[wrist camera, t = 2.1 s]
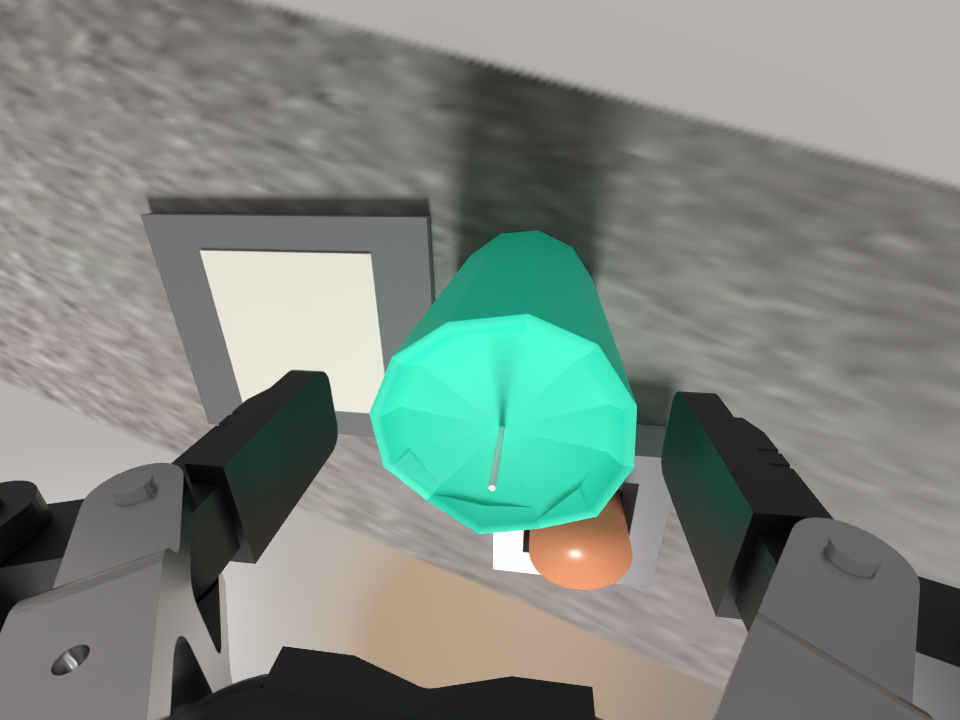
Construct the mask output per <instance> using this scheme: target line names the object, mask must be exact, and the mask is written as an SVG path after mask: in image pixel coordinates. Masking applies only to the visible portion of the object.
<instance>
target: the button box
mask: <svg viewBox="0 0 960 720" xmlns="http://www.w3.org/2000/svg"><path fill="white" fill-rule="evenodd" d="M666 429H667V426H654V425H640V424H636V438H635V457H634V468H633V470H632V471H631V472H630V474H629V475H628V476H627V478H626V479H625V480H624V486H623V492H622V498H621V500H622V505H623V510H624V514H625V519H626V524H627V528H628V533H629V538H630V543H631V547H632V553H633V558H632V563H631V566H630V568H629V570H628V571H627V572H626V574H625V575H624V576H623V577H622V578H620V579H619V580H618V581H616V582H614V583H617V584H625V585H634V586H643V587H651V586H652V581H653V577H654V573H655V569H656V564H657V560H658V556H659V552H660V547H661V543H662V539H663V535H664V530H665V526H666V522H667V518H668V514H669V509H670V505H671V501H672V499H671V496H670V494H669V491H668V489H667V486H666V483H665V481H664V478H663V474H662V467H661V454H662V447H663V443H664V438H665V434H666ZM529 538H530V530H520V531H509V532H498V533H493V569H496V570H505V571H514V572H522V573H531V574H539V575H541V574H540V573H539V572H538V571H537V570H536V569H535V568H534V566H533V564H532V562H531V560H530V556H529Z"/></svg>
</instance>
